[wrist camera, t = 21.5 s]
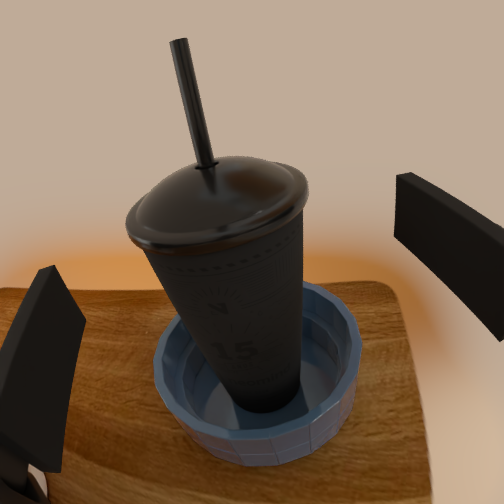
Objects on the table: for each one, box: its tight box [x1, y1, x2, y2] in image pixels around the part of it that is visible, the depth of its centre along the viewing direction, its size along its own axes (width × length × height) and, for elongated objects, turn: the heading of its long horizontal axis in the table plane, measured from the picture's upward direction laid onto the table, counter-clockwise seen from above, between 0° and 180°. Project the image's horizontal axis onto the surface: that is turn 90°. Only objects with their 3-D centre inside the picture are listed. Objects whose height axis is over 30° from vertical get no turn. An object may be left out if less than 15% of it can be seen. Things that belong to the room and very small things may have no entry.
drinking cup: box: [126, 38, 309, 413], centre depth 15 cm, size 8×8×20 cm
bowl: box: [153, 281, 362, 466], centre depth 19 cm, size 12×12×5 cm
